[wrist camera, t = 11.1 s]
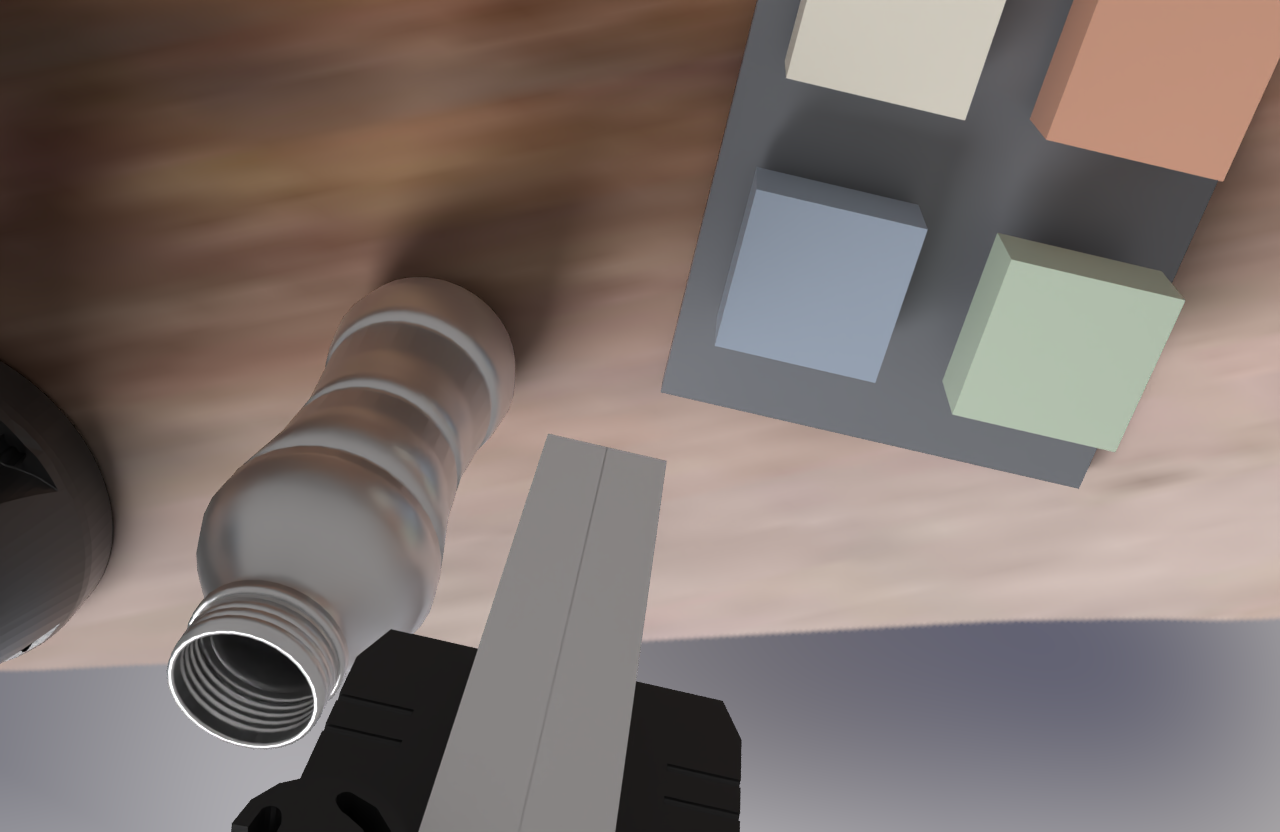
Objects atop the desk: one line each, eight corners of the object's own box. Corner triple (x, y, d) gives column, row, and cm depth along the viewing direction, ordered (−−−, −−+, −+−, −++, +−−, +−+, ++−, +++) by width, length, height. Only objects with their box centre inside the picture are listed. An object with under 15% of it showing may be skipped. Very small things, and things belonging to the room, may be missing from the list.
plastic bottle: (409, 223, 44) (173, 521, 26) (561, 331, 45) (436, 681, 28) (322, 350, 47) (56, 698, 29) (469, 448, 48) (301, 836, 30)
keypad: (662, 380, 46) (656, 417, 43) (825, -275, 36) (830, -280, 33) (1072, 475, 46) (1091, 517, 44) (1350, -148, 36) (1397, -142, 33)
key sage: (942, 381, 42) (952, 414, 40) (997, 232, 39) (1011, 259, 37) (1096, 417, 42) (1115, 452, 40) (1161, 271, 39) (1185, 300, 37)
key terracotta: (1029, 119, 39) (1046, 139, 36) (1096, -62, 36) (1117, -52, 34) (1197, 158, 39) (1223, 181, 37) (1275, -19, 36) (1308, -6, 34)
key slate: (717, 316, 43) (714, 345, 41) (756, 166, 40) (756, 189, 38) (869, 351, 43) (875, 383, 41) (918, 205, 40) (927, 229, 38)
